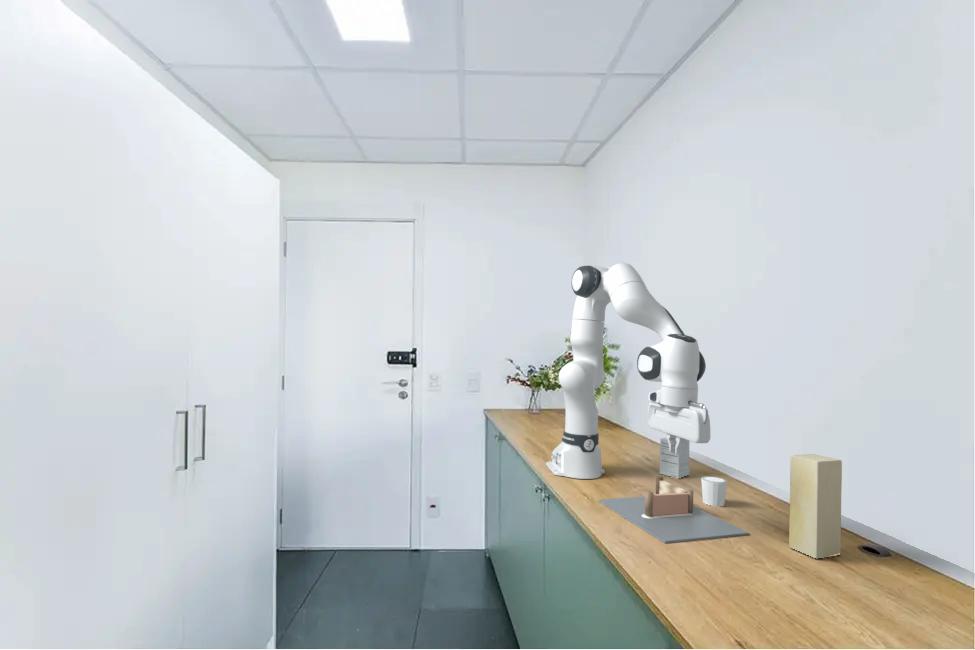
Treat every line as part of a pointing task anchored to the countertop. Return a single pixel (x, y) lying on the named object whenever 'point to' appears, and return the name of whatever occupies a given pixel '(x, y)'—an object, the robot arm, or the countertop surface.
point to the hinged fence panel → (668, 503)
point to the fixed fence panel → (666, 487)
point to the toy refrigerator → (815, 505)
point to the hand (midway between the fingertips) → (675, 453)
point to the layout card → (673, 522)
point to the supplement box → (673, 460)
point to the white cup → (713, 490)
